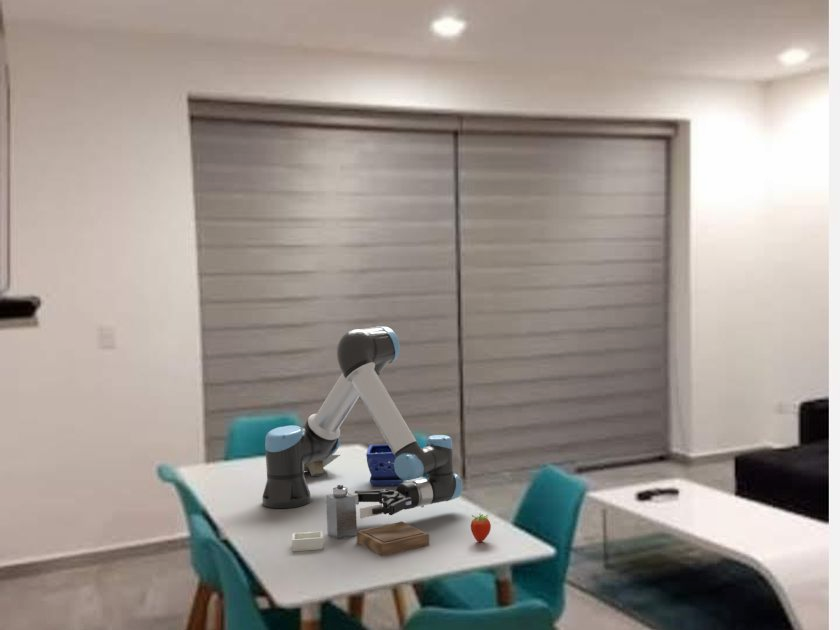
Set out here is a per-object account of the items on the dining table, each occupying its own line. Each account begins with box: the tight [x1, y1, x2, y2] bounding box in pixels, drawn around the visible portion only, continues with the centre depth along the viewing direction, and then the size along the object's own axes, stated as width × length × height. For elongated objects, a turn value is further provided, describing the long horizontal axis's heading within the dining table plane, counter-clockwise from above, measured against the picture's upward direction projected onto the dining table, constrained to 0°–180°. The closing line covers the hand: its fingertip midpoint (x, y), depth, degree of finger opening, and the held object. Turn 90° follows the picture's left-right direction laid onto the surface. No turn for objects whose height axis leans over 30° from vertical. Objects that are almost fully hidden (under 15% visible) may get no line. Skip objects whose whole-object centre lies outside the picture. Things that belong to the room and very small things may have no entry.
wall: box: [304, 454, 341, 477], centre depth 313 cm, size 16×9×15 cm
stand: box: [356, 521, 430, 557], centre depth 234 cm, size 14×14×3 cm
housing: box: [325, 484, 358, 541], centre depth 243 cm, size 6×6×14 cm
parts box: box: [291, 530, 324, 552], centre depth 234 cm, size 8×6×3 cm
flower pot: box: [365, 443, 405, 487], centre depth 299 cm, size 13×13×12 cm
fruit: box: [470, 513, 492, 543], centre depth 233 cm, size 5×5×8 cm
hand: (348, 507), depth 244 cm, fingers open, 13 cm apart
